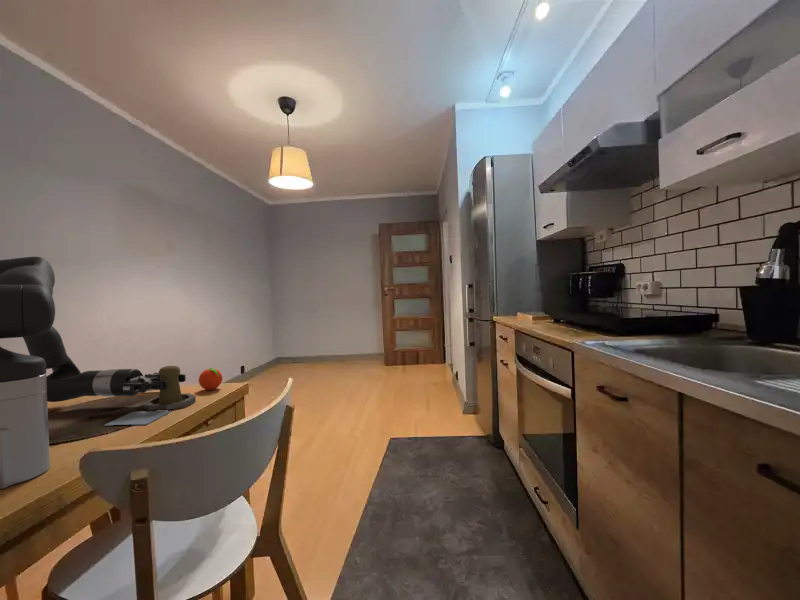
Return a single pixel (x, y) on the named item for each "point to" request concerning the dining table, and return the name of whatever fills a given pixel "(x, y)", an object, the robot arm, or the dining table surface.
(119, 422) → the rubber mat
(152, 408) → the dark grey flat ring
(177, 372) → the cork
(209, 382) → the clementine
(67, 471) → the dining table surface
